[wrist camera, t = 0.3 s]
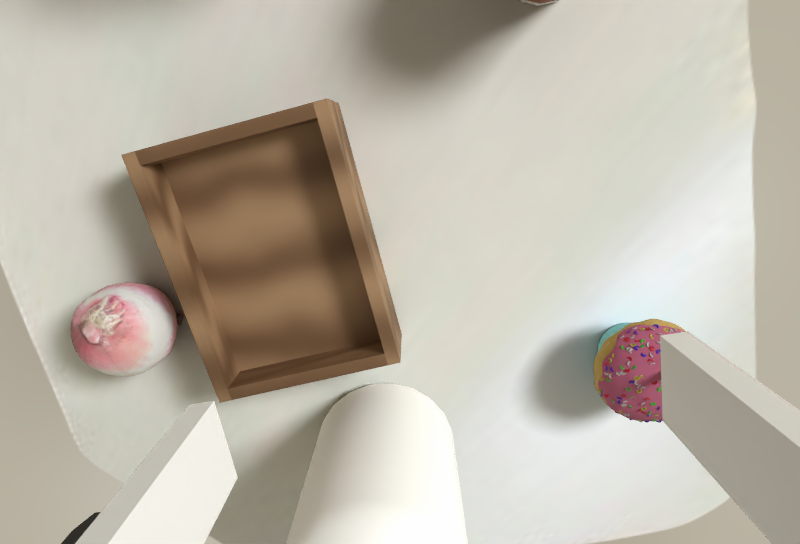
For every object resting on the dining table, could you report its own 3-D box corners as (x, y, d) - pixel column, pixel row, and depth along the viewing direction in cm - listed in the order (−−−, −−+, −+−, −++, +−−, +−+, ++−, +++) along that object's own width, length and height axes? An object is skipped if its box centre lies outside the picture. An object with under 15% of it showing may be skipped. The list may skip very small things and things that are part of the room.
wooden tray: (160, 152, 39) (121, 155, 34) (338, 103, 38) (326, 98, 32) (242, 370, 44) (219, 402, 39) (401, 334, 43) (400, 362, 38)
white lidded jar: (421, 509, 48) (428, 760, 29) (302, 467, 47) (228, 698, 28) (474, 407, 45) (522, 612, 26) (348, 359, 44) (299, 536, 24)
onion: (149, 258, 42) (132, 274, 36) (202, 327, 45) (196, 353, 38) (64, 308, 41) (29, 334, 35) (124, 376, 44) (102, 413, 37)
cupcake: (575, 308, 42) (637, 374, 30) (675, 296, 41) (777, 358, 30) (579, 396, 44) (638, 488, 33) (674, 385, 44) (768, 475, 32)
